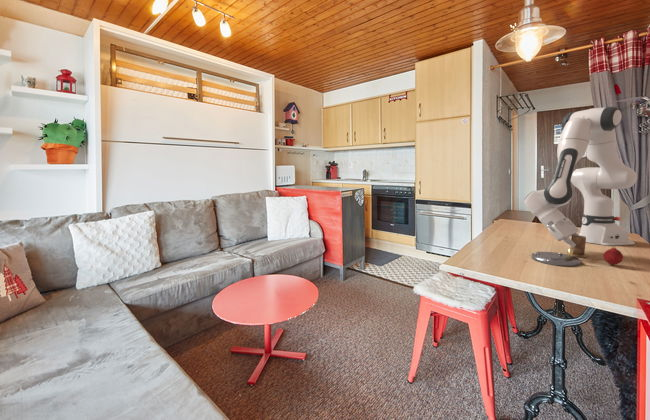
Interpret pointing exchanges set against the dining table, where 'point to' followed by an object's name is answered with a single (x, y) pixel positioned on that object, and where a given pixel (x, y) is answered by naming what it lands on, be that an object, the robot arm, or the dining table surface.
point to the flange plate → (556, 258)
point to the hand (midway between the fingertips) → (578, 244)
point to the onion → (613, 256)
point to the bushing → (579, 246)
